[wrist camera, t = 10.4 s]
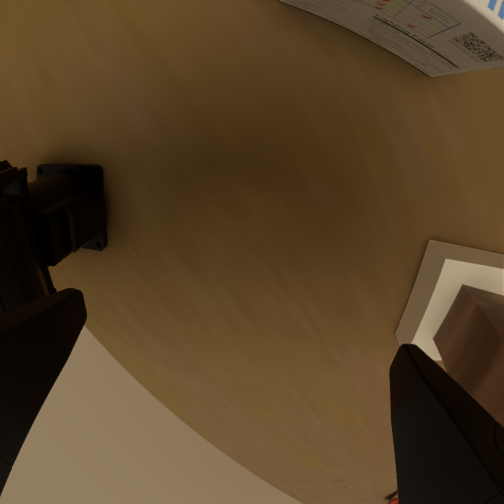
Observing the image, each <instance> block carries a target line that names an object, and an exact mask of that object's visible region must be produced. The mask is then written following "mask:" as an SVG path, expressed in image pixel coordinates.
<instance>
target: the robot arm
mask: <svg viewBox="0 0 504 504" xmlns="http://www.w3.org/2000/svg"><path fill="white" fill-rule="evenodd" d="M94 169H95V170H96V172H97V174H95V173H94ZM42 170H43V172H42ZM26 176H28V174H27V168H26V167H24V168H20V169H17V167H12V166H11V165H10V164H9V162H8V161H7V160H5V161H1V162H0V496H1V493H2V491H3V488H4V486H5V483H6V481H7V479H8V476H9V474H10V472H11V469H12V466H13V465H14V462H15V460H16V458H17V456H18V454H19V451H20V449H21V447H22V445H23V443H24V441H25V439H26V437H27V434H28V433H29V430H30V428H31V426H32V424H33V423H34V420H35V419H36V417H37V415H38V413H39V411H40V409H41V407H42V405H43V403H44V401H45V400H46V398H47V396H48V394H49V392H50V390H51V388H52V387H53V385H54V383H55V381H56V380H57V378H58V376H59V374H60V372H61V371H62V369H63V367H64V365H65V364H66V362H67V360H68V358H69V356H70V354H71V351H72V349H73V347H74V345H75V343H76V341H77V339H78V336H79V334H80V332H81V330H82V328H83V326H84V324H85V322H86V319H87V311H86V307H85V302H84V297H83V294H82V292H81V291H80V290H77V289H73V288H67V289H64V290H61V291H59V292H57V291H56V289H55V288H54V286H53V283H52V280H51V277H50V273H49V270H48V267H49V266H56V265H57V264H58V263H59V262H61V261H62V260H63V259H64V258H66V257H67V256H68V255H70V254H71V253H72V252H76V251H77V250H79V249H80V248H81V247H82V248H87V249H93V250H99V251H102V250H103V249H105V248H106V246H107V238H106V215H105V199H104V195H103V171H102V168H101V166H99V165H95V164H41V165H38V167H37V180H35V181H33V182H30V183H27V177H26ZM99 242H100V243H101V244H102V245H100V244H99ZM389 375H390V402H391V425H392V434H393V442H394V452H395V462H396V474H397V488H398V504H504V427H503V426H502V425H501V424H500V423H499V422H498V421H495V418H494V417H493V416H492V415H491V414H490V413H488V412H487V411H486V410H485V409H484V408H483V407H482V406H481V405H480V404H479V403H478V402H477V401H476V400H475V399H474V398H473V397H472V396H471V395H470V394H469V393H468V392H467V391H466V390H465V389H464V388H462V387H461V386H460V385H459V384H458V383H457V382H456V381H455V380H454V379H453V378H452V377H451V376H450V375H449V374H448V373H447V372H445V371H444V370H443V369H442V368H441V367H440V366H439V365H438V364H437V363H436V362H435V361H434V360H433V359H431V358H430V357H429V356H428V355H427V354H426V353H425V352H424V351H423V350H422V349H421V348H419V347H418V346H417V345H416V344H407V343H404V344H402V345H401V346H400V347H399V349H398V351H397V353H396V355H395V358H394V360H393V362H392V364H391V366H390V372H389Z"/></svg>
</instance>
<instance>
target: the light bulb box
mask: <svg viewBox="0 0 504 504" xmlns="http://www.w3.org/2000/svg"><path fill="white" fill-rule="evenodd" d="M279 1H281V2H284V3H287V4H289V5H292V6H295V7H297V8H300V9H303V10H305V11H308V12H310V13H313V14H315V15H317V16H320V17H322V18H325V19H327V20H329V21H331V22H334V23H336V24H338V25H340V26H343V27H345V28H347V29H349V30H351V31H353V32H355V33H357V34H359V35H361V36H363V37H365V38H367V39H368V40H370V41H372V42H374V43H376V44H378V45H380V46H381V47H383V48H385V49H387V50H388V51H390V52H392V53H394V54H395V55H397V56H399V57H400V58H402V59H404V60H405V61H407V62H409V63H410V64H412V65H413V66H415V67H416V68H418V69H420V70H421V71H423V72H424V73H426V74H427V75H429V76H430V77H432V78H433V77H438V76H444V75H450V74H456V73H463V72H470V71H477V70H484V69H493V68H502V67H504V0H279Z"/></svg>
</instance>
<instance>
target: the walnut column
mask: <svg viewBox="0 0 504 504" xmlns="http://www.w3.org/2000/svg"><path fill="white" fill-rule="evenodd" d="M433 340H434V343H435V345H436V347H437V349H438V351H439V354H440V356H441V358H442V361H443V363H444V365H445V368H446V370H447V372H448V374H449V375H450V376H451V377H452V378H453V379H454V380H455V381H456V382H457V383H458V384H459V385H460V386H461V387H462V388H464V389H465V390H466V391H467V392H468V393H469V394H470V395H471V396H472V397H473V398H474V399H475V400H476V401H477V402H478V403H479V404H480V405H481V406H482V407H483V408H484V409H485V410H486V411H487V412H488V413H490V414H491V415H492V416H493V417H494V418H495V421H498V422H499V423H500V424H501V425H502V426H503V427H504V296H503V295H500V294H496V293H493V292H489V291H485V290H482V289H478V288H475V287H471V286H467V285H464V284H462V286H461V288H460V290H459V292H458V294H457V296H456V298H455V300H454V302H453V304H452V306H451V307H450V309H449V311H448V313H447V315H446V317H445V318H444V320H443V322H442V324H441V325H440V327H439V329H438V331H437V332H436V334H435V336H434V337H433Z"/></svg>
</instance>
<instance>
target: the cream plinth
mask: <svg viewBox="0 0 504 504" xmlns="http://www.w3.org/2000/svg"><path fill="white" fill-rule="evenodd" d="M462 284H464V285H467V286H471V287H475V288H478V289H482V290H485V291H489V292H493V293H496V294H500V295H503V296H504V254H499V253H494V252H490V251H485V250H480V249H476V248H471V247H466V246H461V245H456V244H451V243H446V242H441V241H435V240H430V239H429V241H428V244H427V248H426V251H425V254H424V257H423V260H422V263H421V266H420V269H419V272H418V275H417V278H416V281H415V284H414V286H413V289H412V292H411V295H410V297H409V300H408V303H407V305H406V308H405V310H404V313H403V315H402V318H401V320H400V323H399V325H398V328H397V330H396V332H395V334H396V337H397V340H398V343H399V346H401V345H402V344H404V343H407V344H416V345H417V346H418V347H419V348H421V349H422V350H423V351H424V352H425V353H426V354H427V355H428V356H429V357H430V358H431V359H433V360H442V358H441V356H440V354H439V351H438V349H437V347H436V345H435V343H434V340H433V337H434V336H435V334H436V332H437V331H438V329H439V327H440V325H441V324H442V322H443V320H444V318H445V317H446V315H447V313H448V311H449V309H450V307H451V306H452V304H453V302H454V300H455V298H456V296H457V294H458V292H459V290H460V288H461V286H462Z"/></svg>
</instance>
